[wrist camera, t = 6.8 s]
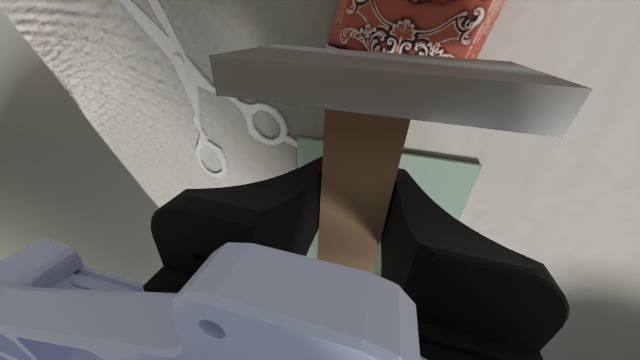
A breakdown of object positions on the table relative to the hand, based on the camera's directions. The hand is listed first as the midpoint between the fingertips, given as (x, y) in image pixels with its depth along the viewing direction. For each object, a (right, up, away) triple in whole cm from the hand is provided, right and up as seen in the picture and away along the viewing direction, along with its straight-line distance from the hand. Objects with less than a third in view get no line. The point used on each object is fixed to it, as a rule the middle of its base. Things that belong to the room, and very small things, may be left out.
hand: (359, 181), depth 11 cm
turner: (+1, 0, +3) cm, 3 cm away
